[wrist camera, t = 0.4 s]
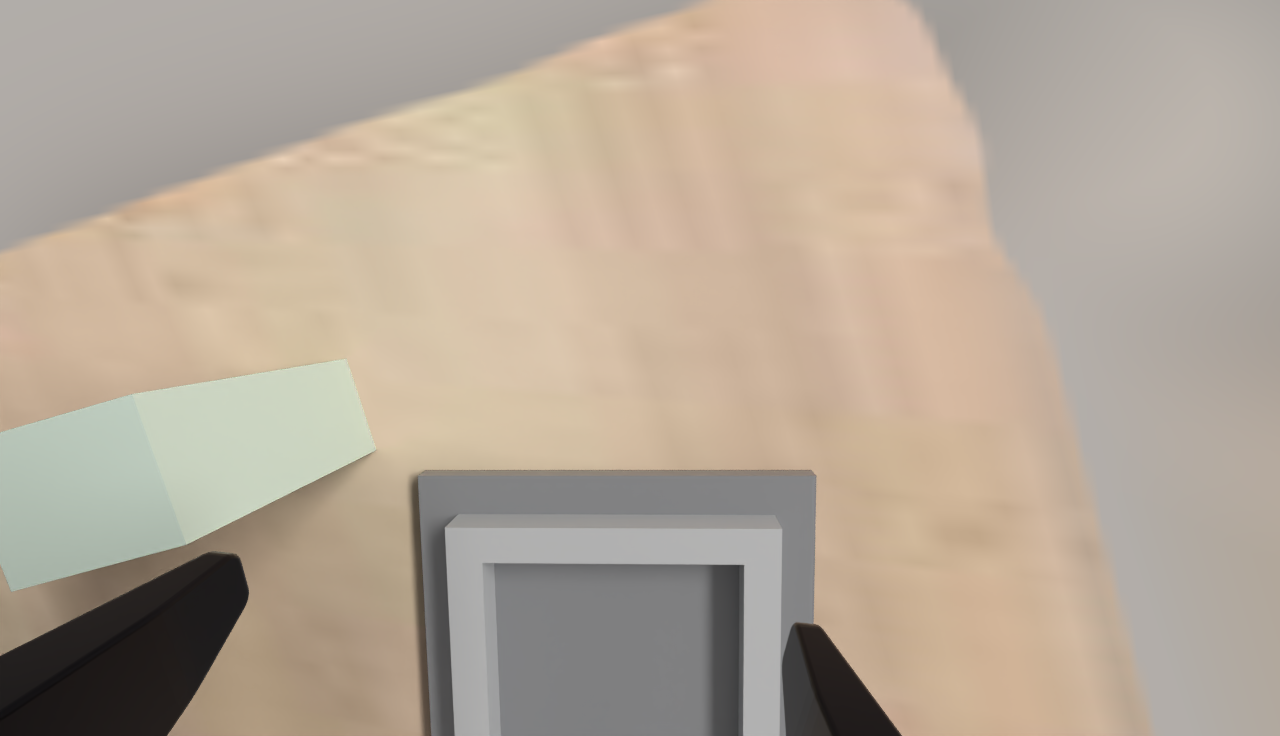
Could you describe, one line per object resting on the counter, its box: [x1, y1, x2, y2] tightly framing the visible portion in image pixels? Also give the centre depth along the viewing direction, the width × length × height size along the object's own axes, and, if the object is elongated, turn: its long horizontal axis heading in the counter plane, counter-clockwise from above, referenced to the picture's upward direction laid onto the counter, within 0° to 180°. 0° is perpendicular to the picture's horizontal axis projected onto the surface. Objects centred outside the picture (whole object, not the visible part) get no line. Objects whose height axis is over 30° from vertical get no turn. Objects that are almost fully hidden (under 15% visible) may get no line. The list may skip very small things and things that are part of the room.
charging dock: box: [418, 470, 816, 736], centre depth 24 cm, size 16×16×2 cm
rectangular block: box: [0, 359, 376, 592], centre depth 20 cm, size 4×5×10 cm
